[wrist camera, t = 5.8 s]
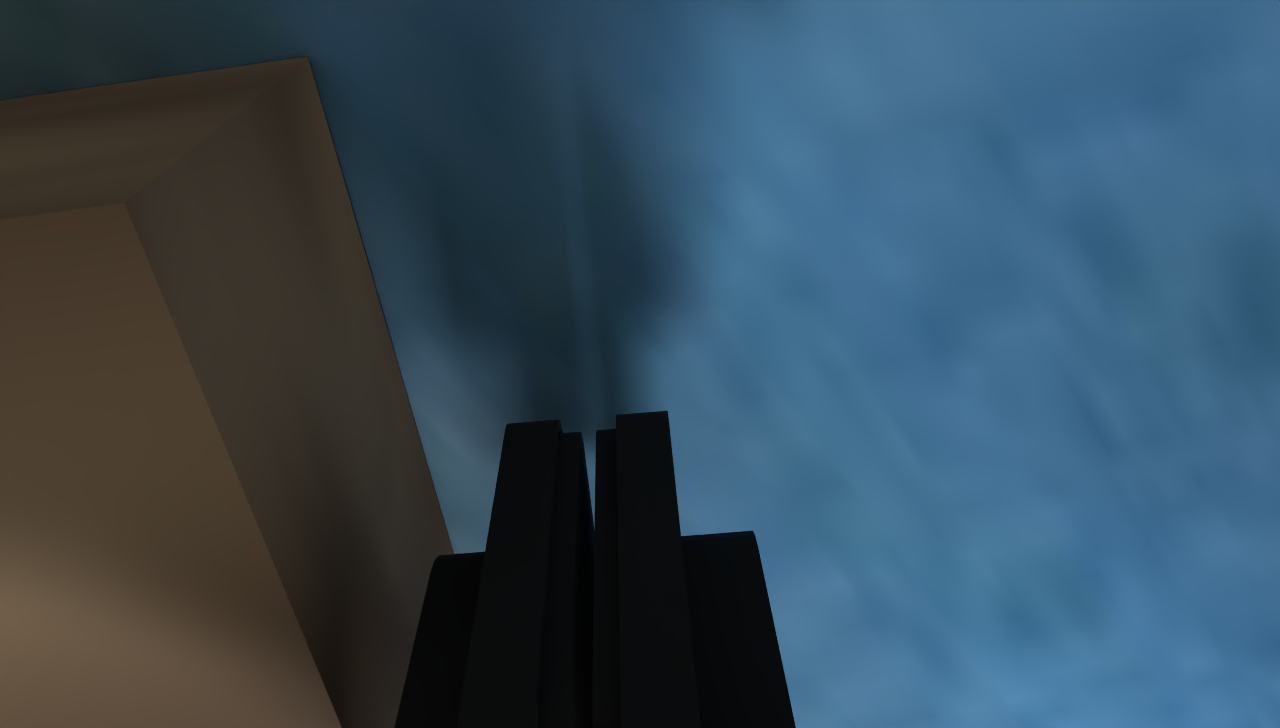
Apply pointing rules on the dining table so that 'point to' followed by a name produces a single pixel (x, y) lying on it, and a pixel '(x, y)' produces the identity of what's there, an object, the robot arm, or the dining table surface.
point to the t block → (199, 417)
